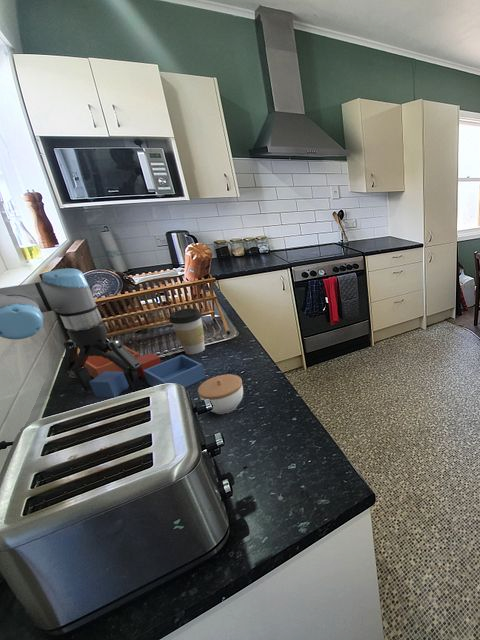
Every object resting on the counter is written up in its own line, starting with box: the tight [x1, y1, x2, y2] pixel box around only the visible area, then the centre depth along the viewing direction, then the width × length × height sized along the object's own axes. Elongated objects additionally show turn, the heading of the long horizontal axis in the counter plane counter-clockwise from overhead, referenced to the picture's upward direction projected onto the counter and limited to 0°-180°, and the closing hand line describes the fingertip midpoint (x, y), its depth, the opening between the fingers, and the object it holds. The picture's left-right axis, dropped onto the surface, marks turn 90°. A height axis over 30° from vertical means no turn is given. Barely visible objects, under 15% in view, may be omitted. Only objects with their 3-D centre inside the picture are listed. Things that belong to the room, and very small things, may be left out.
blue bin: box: [143, 354, 207, 388], centre depth 109 cm, size 11×11×5 cm
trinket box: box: [197, 373, 244, 415], centre depth 97 cm, size 11×11×9 cm
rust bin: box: [82, 344, 141, 379], centre depth 114 cm, size 11×11×5 cm
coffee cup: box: [168, 307, 206, 355], centre depth 125 cm, size 10×10×15 cm
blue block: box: [89, 371, 130, 398], centre depth 103 cm, size 6×6×6 cm
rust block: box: [136, 352, 162, 380], centre depth 112 cm, size 6×6×6 cm
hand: (112, 388), depth 104 cm, fingers open, 13 cm apart
